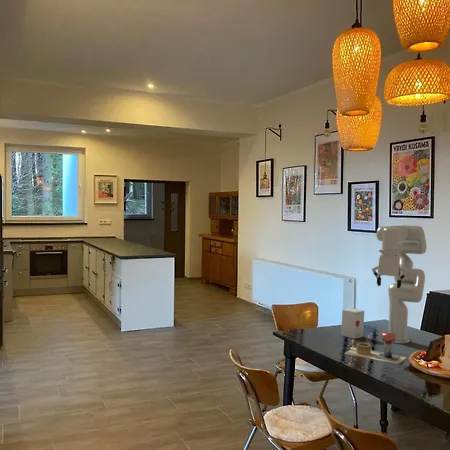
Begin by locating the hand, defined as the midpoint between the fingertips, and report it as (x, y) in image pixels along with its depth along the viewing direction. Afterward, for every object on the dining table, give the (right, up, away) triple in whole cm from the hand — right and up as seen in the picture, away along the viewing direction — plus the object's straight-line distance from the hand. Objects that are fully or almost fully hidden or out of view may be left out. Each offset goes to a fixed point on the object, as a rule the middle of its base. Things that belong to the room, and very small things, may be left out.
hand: (388, 286), depth 248 cm
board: (-10, -33, -10) cm, 36 cm away
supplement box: (-10, -32, +31) cm, 46 cm away
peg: (-5, -32, -13) cm, 35 cm away
